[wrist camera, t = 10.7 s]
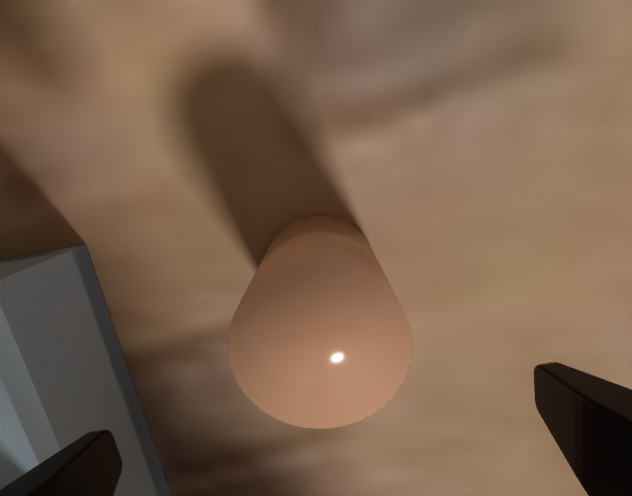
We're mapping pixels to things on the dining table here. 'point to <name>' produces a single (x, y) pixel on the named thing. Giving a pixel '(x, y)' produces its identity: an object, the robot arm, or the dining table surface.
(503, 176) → the dining table surface
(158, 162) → the dining table surface
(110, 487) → the robot arm
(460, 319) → the dining table surface
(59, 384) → the tote
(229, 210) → the dining table surface
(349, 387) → the terracotta capsule
